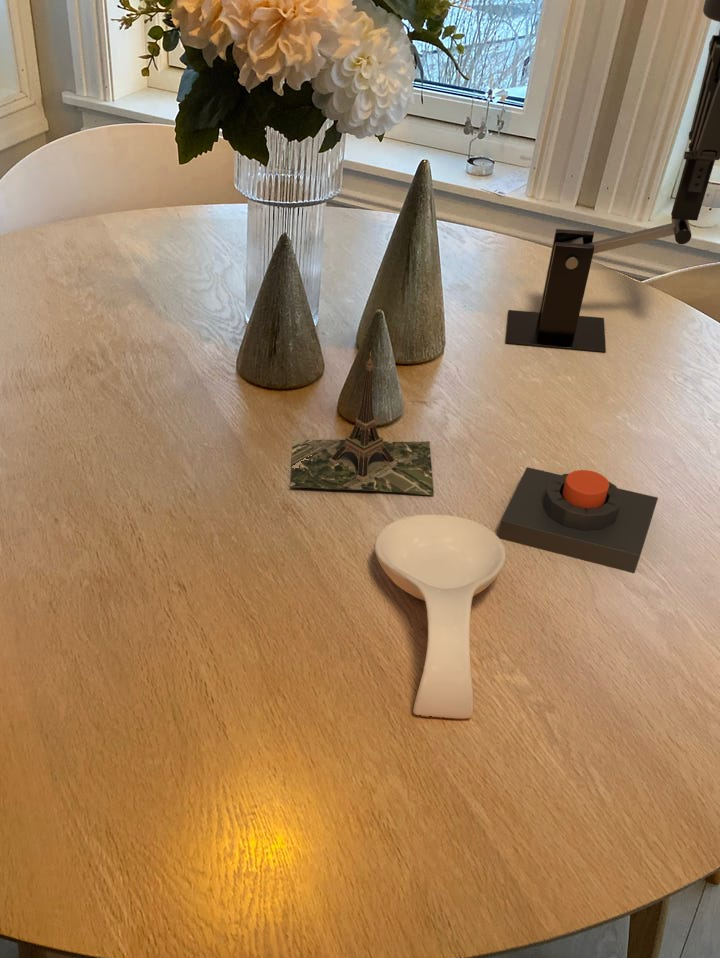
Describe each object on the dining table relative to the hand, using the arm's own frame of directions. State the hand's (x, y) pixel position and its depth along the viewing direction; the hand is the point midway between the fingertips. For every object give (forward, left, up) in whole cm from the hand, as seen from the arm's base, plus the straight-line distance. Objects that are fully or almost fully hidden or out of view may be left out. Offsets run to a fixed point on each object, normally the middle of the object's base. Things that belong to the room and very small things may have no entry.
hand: (684, 217), depth 113 cm
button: (0, +41, -12) cm, 42 cm away
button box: (0, +41, -16) cm, 44 cm away
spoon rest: (+8, +60, -16) cm, 62 cm away
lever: (+5, +1, -4) cm, 7 cm away
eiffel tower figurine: (+23, +40, -16) cm, 49 cm away
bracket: (+11, +3, -16) cm, 20 cm away
